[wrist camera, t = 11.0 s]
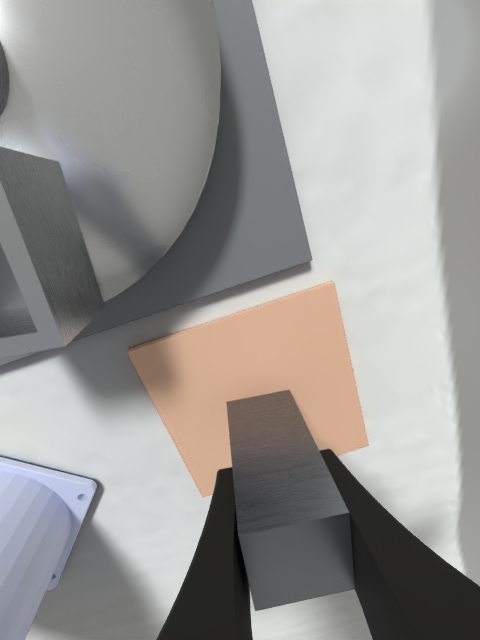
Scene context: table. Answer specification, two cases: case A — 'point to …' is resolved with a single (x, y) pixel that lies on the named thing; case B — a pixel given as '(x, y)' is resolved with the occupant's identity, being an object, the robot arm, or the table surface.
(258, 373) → the mat
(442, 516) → the table surface
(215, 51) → the metal pot lid
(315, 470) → the dark grey rectangular block
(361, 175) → the table surface
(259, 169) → the base plate
